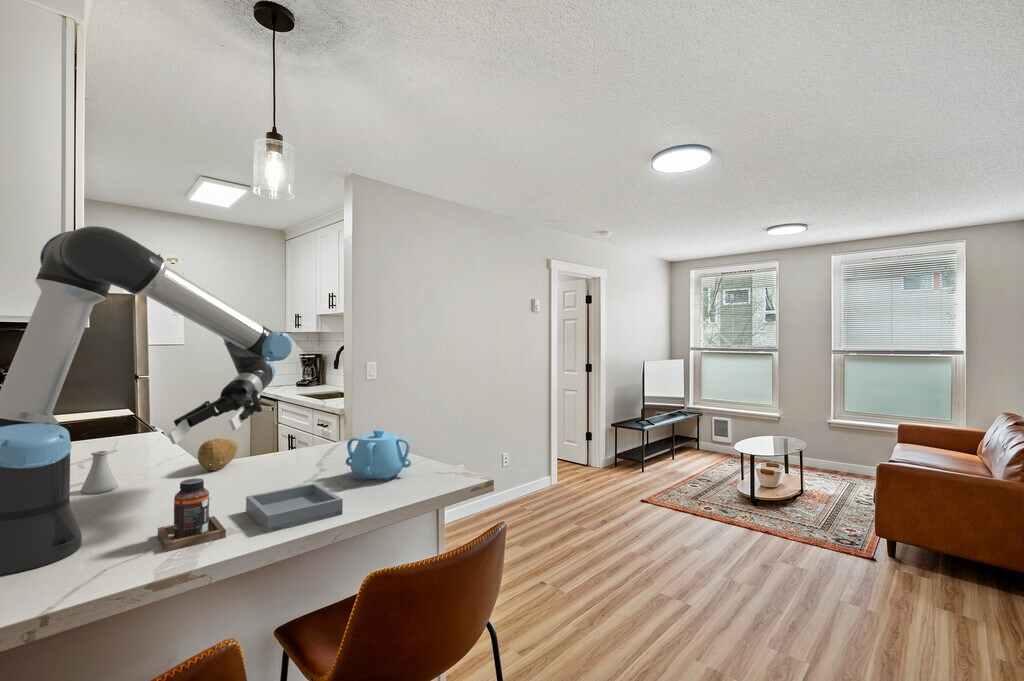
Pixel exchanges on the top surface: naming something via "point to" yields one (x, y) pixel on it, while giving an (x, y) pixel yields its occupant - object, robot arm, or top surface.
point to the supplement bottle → (191, 509)
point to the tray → (293, 506)
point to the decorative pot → (378, 455)
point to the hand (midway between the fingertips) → (202, 432)
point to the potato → (216, 453)
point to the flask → (99, 475)
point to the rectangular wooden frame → (191, 540)
